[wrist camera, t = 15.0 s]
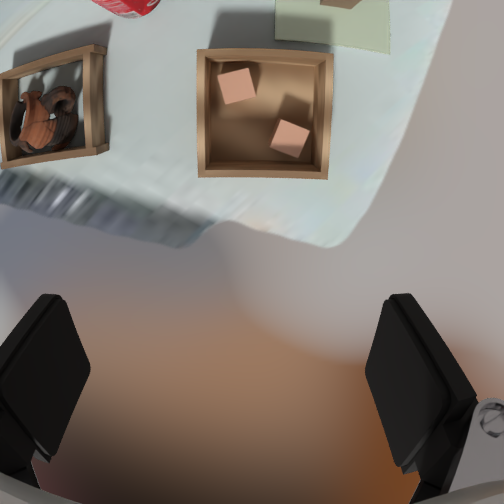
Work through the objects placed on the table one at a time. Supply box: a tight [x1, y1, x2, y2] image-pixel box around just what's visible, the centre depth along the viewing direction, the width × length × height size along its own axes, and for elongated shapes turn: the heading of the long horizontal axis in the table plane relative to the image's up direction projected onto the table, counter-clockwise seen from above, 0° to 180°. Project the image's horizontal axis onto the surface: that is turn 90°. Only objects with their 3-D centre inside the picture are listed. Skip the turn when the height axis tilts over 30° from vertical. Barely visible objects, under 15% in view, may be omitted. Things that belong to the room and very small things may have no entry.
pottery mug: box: [9, 86, 78, 153], centre depth 33 cm, size 12×10×8 cm
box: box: [197, 48, 333, 180], centre depth 34 cm, size 14×14×7 cm
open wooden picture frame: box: [0, 44, 109, 169], centre depth 33 cm, size 14×17×4 cm
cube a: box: [217, 68, 256, 104], centre depth 33 cm, size 4×4×4 cm
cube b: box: [268, 118, 310, 158], centre depth 36 cm, size 4×4×4 cm
